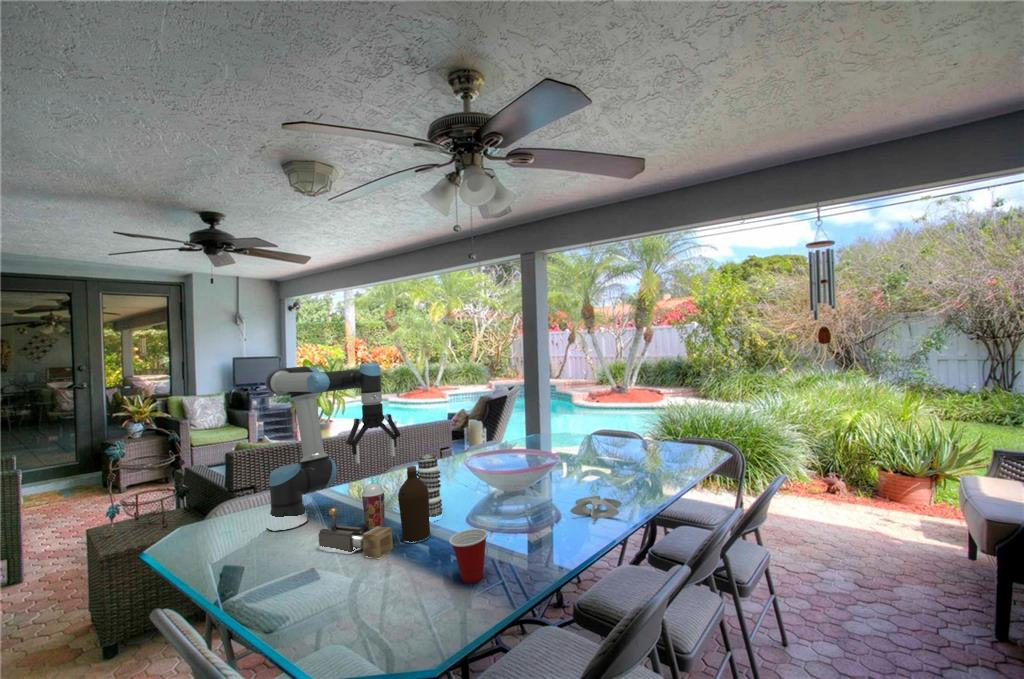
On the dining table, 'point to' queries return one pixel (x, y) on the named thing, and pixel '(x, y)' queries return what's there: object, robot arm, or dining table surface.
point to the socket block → (377, 541)
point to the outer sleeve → (339, 537)
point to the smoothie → (373, 504)
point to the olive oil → (414, 507)
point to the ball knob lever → (356, 539)
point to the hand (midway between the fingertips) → (375, 459)
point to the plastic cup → (470, 553)
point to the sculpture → (596, 513)
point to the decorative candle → (431, 482)
